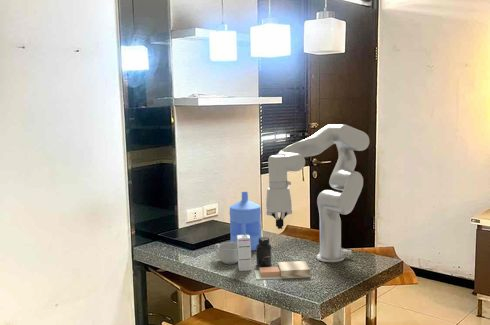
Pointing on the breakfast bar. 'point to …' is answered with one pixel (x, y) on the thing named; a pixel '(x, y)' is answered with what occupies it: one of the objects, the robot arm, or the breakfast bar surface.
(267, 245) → the supplement bottle
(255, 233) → the water jug
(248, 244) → the syrup box
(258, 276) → the mat
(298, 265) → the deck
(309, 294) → the breakfast bar surface
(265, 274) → the tile
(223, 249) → the teacup
